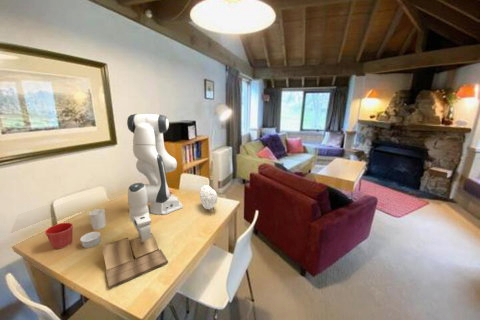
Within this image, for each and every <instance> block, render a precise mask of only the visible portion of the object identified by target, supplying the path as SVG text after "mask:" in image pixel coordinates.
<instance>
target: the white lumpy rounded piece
mask: <svg viewBox="0 0 480 320" xmlns="http://www.w3.org/2000/svg"><path fill="white" fill-rule="evenodd" d="M199 199H200V202H201V205H202V206H203V208H204V209H205V210H207V209H209V211H210V210H211V212H212V211H213V210H214V209H213V208H214V207H215V206H216V204H217V202H218V193H217V192H216V190H215V189H213V188H212V187H211V186H210V185H208V184H204V185H203V186H202V187H201V188H200V191H199ZM213 212H214V211H213Z"/></svg>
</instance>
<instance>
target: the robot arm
mask: <svg viewBox="0 0 480 320" xmlns="http://www.w3.org/2000/svg"><path fill="white" fill-rule="evenodd" d="M126 121H127V122H126V125H127V129H128V130H129V131H130V133H133V138H132V151H133V155H134V157H135V158H136V159H137V161H136V163H135V164H136V165H135V167H136V169H137V171H138V172H139V173H140V174H142V175H144V176H145V178H146V179H147V181H148V184H147V183H146V184H145V183H142V182H136V183H135V182H134V183H133V184H131V185H130V186H128V189H127V204H128V206H129V210H128V211H129V212H128V213H129V219H130V222H131V223H132V224H133V226H134V228H135V230H136V231H137V234H138V237H141V241H142V242H144V241H145V240H147V239H150V237H151V233H152V232H151V229H152V227H151V224H152V219H151V216H150V214H152V215H162V216H164V215H168V214H170V213H173V212H176V211H178V210H180V209H183V207H184V206H183V203H182V202H181V201H180V200H179V198H178V197H177V196H175V195H174V194H173V191H172V190H170V188H169V184H168V181H167V175H166V173H170V172H174V171H175V170H176V169H177V168H178V162H177V159H176V158H175V157H174V156H171V155H170V154H169V153H168V151H167V150H166V147H165V143H164V142H165V141H164V134H165V133H166V132H167V131H168V129H169V128H170V127H169V126H170V122H169V120H168V117H167V116H166V115H164V114H154V113H153V114H152V113H141V114H137V113H134V114H130V115H129V116H128V117H127V119H126ZM148 203H150V207H149V205H148Z"/></svg>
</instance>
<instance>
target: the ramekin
mask: <svg viewBox="0 0 480 320" xmlns="http://www.w3.org/2000/svg"><path fill="white" fill-rule="evenodd" d="M79 241H80V242H81V245H82V247H83V248H85V249H87V248H88V249H89V248H92V247H95V246H97V245H98V244H99V243H100V242H101V233H100V232H99V231H92V232H91V231H90V232H87V233H86V234H84V235H82V236H81V237H80V238H79Z"/></svg>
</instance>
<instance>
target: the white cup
mask: <svg viewBox="0 0 480 320" xmlns="http://www.w3.org/2000/svg"><path fill="white" fill-rule="evenodd" d="M105 211H106V210H105V209H104V208H97V209H94V210H90V211H89V213H88V218H89V221H90V225H91V227H92V229H93V230H101V229H103V228H105V227H106V224H107V223H106V212H105Z"/></svg>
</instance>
